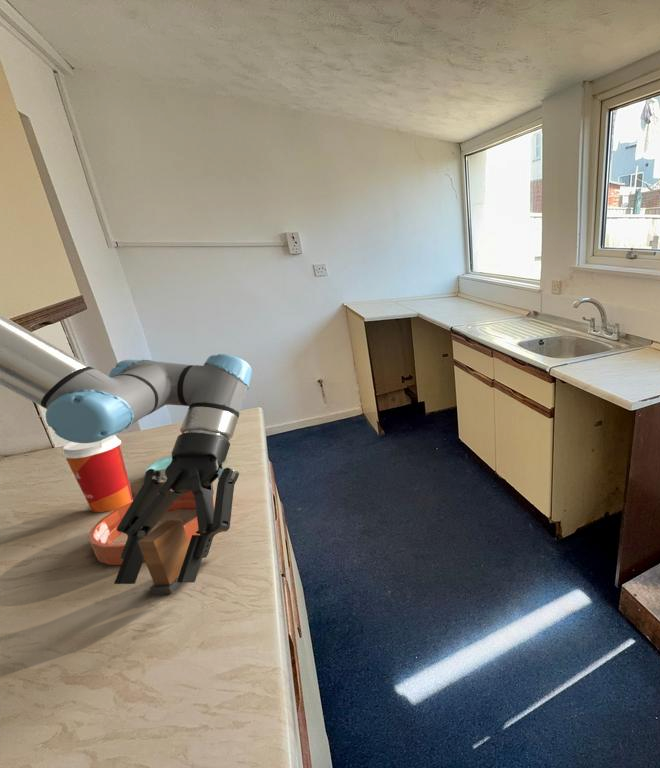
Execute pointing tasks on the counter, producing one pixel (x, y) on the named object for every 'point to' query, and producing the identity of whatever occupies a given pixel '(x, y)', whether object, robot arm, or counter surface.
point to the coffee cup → (100, 473)
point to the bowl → (108, 532)
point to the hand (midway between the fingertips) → (155, 582)
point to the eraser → (165, 555)
